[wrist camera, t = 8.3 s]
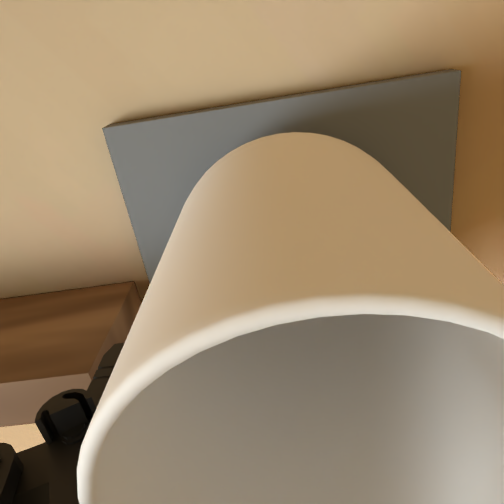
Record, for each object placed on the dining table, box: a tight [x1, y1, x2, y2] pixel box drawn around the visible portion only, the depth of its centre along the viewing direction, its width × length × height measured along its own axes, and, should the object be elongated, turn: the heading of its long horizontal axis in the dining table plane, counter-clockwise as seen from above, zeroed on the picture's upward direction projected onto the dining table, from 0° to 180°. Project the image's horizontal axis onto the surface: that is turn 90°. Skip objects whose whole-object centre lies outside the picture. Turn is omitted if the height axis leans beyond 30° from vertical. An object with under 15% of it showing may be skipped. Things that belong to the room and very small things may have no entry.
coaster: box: [102, 69, 461, 283], centre depth 18 cm, size 13×13×1 cm
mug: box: [77, 132, 504, 504], centre depth 12 cm, size 9×12×11 cm
